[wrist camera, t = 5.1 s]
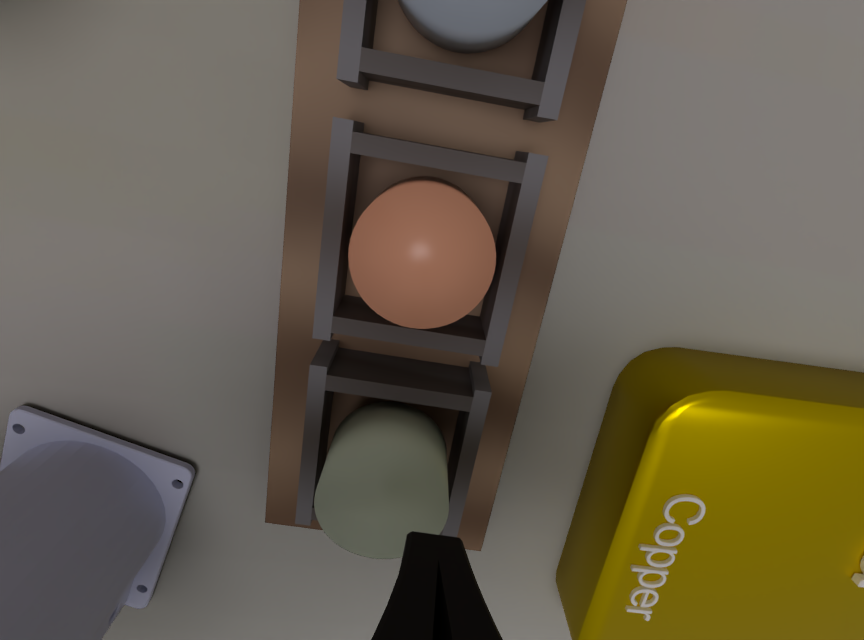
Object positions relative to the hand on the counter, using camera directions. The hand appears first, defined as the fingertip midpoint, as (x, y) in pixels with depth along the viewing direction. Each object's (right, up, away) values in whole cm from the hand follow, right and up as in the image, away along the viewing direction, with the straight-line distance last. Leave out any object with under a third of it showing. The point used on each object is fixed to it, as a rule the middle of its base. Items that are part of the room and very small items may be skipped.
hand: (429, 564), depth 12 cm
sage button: (-2, +1, +6) cm, 7 cm away
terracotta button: (0, +9, +5) cm, 10 cm away
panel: (0, +10, +6) cm, 12 cm away
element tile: (+15, -2, +12) cm, 19 cm away
